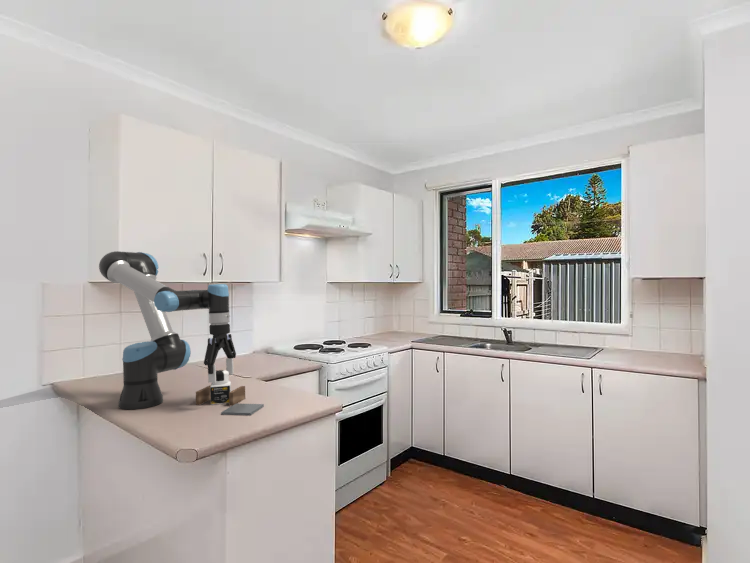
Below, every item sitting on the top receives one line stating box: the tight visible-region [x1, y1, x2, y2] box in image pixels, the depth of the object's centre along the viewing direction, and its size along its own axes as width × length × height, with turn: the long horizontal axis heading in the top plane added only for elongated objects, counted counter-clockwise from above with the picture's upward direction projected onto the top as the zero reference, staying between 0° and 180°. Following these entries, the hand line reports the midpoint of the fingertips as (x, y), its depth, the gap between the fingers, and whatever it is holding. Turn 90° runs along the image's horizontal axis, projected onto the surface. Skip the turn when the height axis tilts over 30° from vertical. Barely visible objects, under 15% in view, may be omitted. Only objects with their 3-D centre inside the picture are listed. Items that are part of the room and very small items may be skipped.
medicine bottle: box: [209, 369, 232, 406], centre depth 171 cm, size 7×7×12 cm
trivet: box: [220, 403, 265, 416], centre depth 159 cm, size 11×11×1 cm
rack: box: [195, 385, 246, 407], centre depth 171 cm, size 15×10×5 cm, turn 81°
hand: (221, 378), depth 170 cm, fingers open, 13 cm apart
